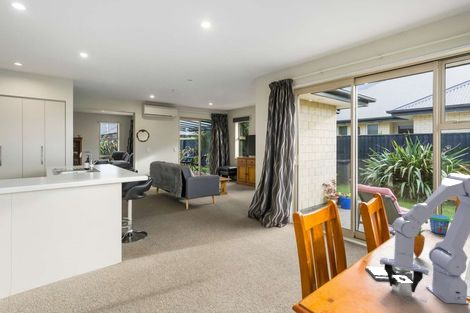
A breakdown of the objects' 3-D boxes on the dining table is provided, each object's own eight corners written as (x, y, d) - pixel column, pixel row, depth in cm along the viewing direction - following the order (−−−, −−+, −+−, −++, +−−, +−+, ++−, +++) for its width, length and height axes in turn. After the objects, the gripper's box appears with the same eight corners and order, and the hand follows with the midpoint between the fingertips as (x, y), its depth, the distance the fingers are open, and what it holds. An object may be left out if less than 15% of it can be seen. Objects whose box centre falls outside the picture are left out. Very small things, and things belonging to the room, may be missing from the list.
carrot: (418, 255, 122) (419, 225, 121) (426, 259, 117) (428, 228, 116) (408, 255, 122) (409, 225, 121) (415, 259, 117) (417, 228, 116)
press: (415, 282, 98) (415, 273, 97) (375, 280, 98) (376, 272, 98) (400, 270, 107) (401, 262, 107) (365, 268, 108) (365, 261, 107)
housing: (412, 296, 88) (412, 282, 88) (399, 295, 89) (399, 281, 88) (404, 288, 93) (404, 275, 93) (391, 288, 93) (392, 274, 93)
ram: (410, 275, 99) (410, 261, 99) (397, 274, 99) (398, 260, 99) (400, 267, 105) (401, 254, 105) (389, 267, 105) (390, 254, 105)
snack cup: (419, 228, 161) (420, 213, 160) (432, 227, 163) (433, 212, 162) (444, 237, 145) (446, 220, 145) (458, 236, 148) (459, 219, 147)
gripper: (427, 252, 89) (425, 289, 90) (381, 243, 97) (379, 276, 98) (430, 260, 83) (427, 299, 84) (380, 249, 91) (378, 285, 92)
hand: (401, 287), depth 91 cm, fingers closed on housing, 6 cm apart
